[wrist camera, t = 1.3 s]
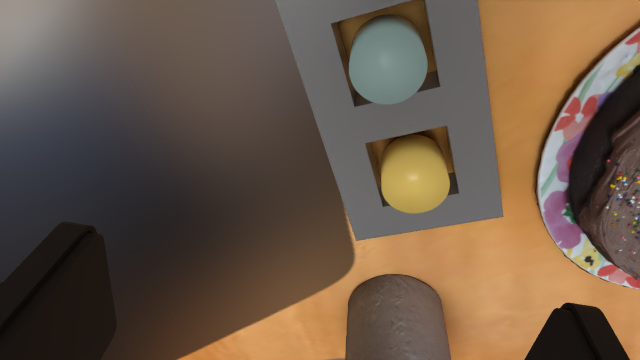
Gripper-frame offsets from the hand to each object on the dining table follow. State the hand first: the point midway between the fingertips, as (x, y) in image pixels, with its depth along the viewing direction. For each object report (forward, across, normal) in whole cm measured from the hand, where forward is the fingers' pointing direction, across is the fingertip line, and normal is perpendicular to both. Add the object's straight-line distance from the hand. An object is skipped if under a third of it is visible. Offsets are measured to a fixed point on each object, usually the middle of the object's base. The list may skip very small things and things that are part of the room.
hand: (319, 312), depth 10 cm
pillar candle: (+28, -9, +27) cm, 40 cm away
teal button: (+24, -2, +1) cm, 25 cm away
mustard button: (+25, -6, +9) cm, 27 cm away
